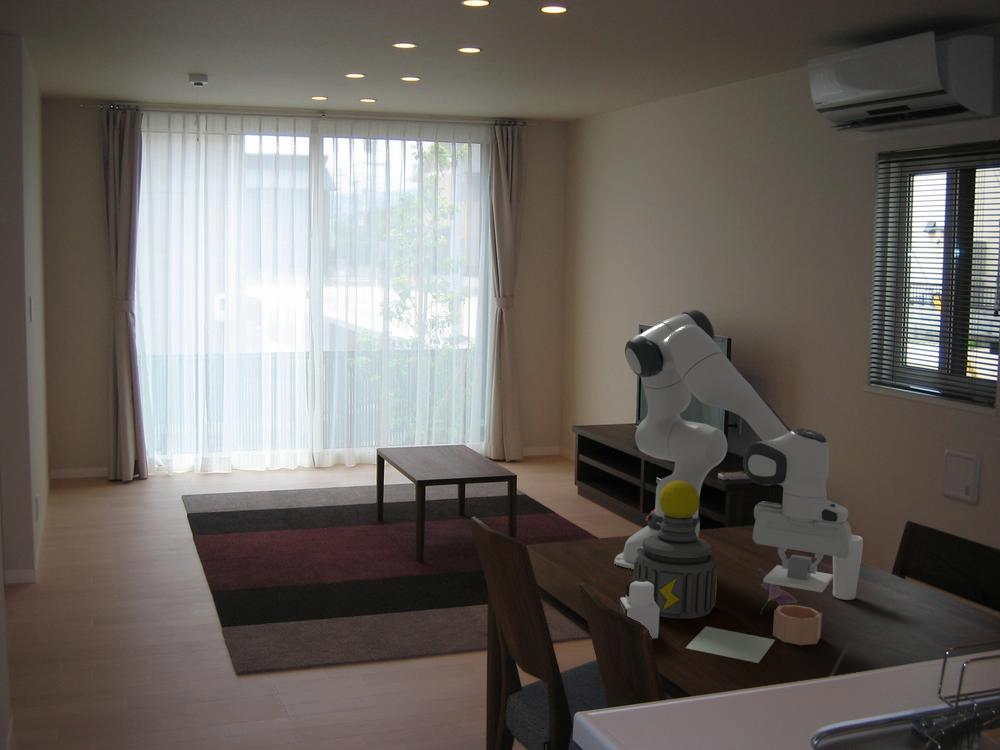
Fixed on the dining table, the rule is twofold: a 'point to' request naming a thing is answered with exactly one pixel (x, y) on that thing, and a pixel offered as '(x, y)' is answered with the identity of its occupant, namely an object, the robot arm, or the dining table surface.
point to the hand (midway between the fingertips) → (799, 570)
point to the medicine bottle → (641, 604)
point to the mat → (731, 644)
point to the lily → (777, 593)
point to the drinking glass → (847, 571)
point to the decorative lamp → (679, 558)
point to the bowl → (797, 624)
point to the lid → (799, 575)
